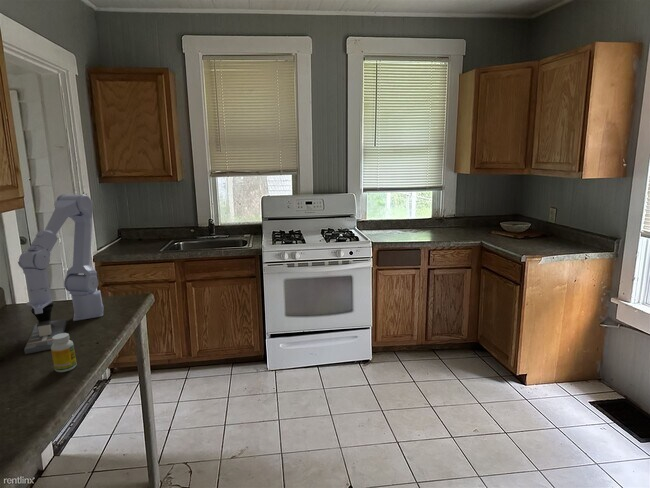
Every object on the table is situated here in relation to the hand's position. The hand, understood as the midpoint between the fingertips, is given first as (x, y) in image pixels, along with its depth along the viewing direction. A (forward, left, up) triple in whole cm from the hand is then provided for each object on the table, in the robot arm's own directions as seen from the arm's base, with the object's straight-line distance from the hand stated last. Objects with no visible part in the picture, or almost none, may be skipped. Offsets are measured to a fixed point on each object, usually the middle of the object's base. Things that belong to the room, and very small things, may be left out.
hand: (46, 327), depth 142 cm
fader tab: (0, +3, -1) cm, 3 cm away
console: (0, +1, -3) cm, 3 cm away
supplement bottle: (-8, +28, -3) cm, 29 cm away
